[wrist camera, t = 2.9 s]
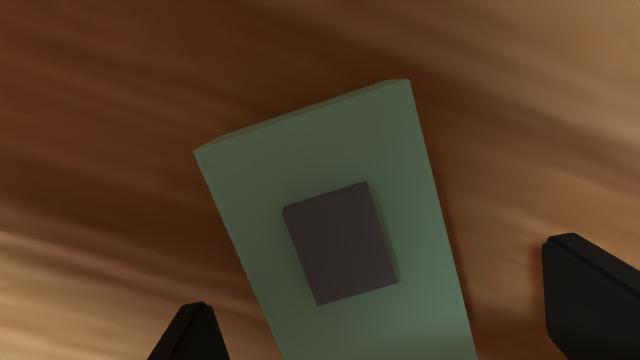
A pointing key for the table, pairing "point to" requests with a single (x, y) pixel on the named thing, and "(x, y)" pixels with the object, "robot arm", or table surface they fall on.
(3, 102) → the table surface
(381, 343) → the board
